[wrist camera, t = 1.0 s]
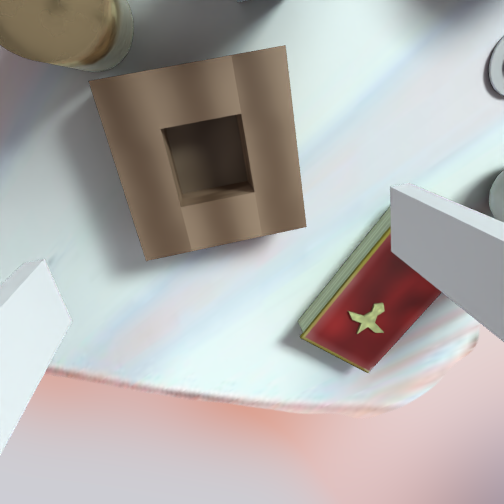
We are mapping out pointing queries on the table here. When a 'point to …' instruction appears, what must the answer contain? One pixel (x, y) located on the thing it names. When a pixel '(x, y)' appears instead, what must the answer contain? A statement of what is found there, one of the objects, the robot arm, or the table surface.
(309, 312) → the hardcover book
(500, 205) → the grey rounded tall shape
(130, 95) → the socket block
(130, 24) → the round bit
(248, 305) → the table surface
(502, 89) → the bracket
